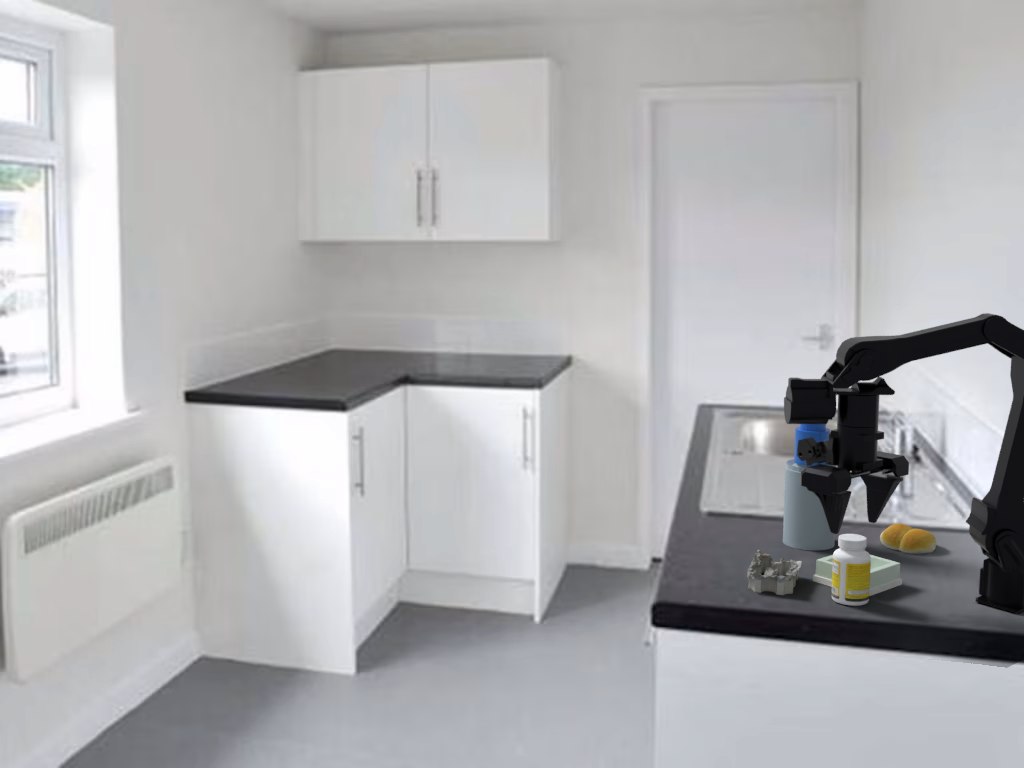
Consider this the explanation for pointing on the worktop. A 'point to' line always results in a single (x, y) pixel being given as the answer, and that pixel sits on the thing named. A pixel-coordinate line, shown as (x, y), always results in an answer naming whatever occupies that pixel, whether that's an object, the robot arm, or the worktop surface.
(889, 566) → the socket block
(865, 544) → the supplement bottle
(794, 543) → the spray bottle
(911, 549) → the bread roll
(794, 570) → the egg carton
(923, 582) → the worktop surface
